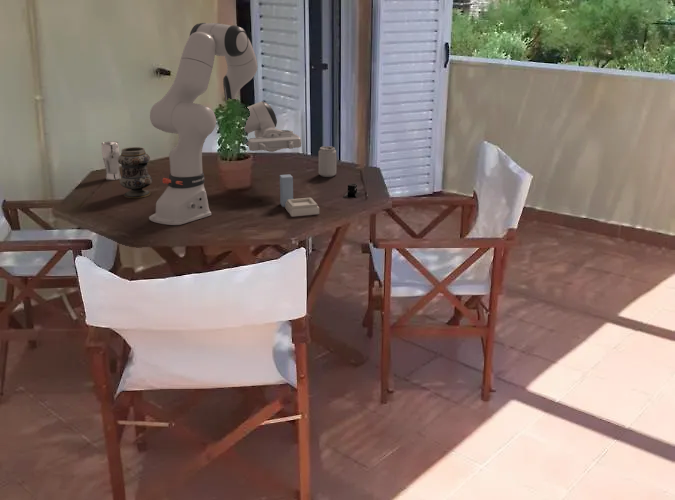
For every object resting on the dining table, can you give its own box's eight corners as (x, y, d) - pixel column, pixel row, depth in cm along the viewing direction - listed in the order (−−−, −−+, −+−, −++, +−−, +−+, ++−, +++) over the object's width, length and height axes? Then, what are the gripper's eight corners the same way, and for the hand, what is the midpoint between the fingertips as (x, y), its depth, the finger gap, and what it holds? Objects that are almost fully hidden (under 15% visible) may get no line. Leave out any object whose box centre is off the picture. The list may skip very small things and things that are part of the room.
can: (339, 175, 313) (339, 147, 309) (325, 178, 309) (324, 150, 305) (329, 172, 319) (329, 144, 315) (315, 174, 315) (314, 146, 311)
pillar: (293, 206, 272) (292, 177, 268) (282, 207, 271) (281, 177, 267) (290, 203, 276) (290, 174, 272) (280, 203, 275) (279, 175, 271)
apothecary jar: (152, 189, 293) (148, 144, 287) (154, 197, 283) (150, 151, 276) (120, 192, 290) (115, 146, 284) (121, 200, 279) (116, 153, 273)
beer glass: (121, 175, 314) (118, 140, 308) (122, 179, 307) (119, 144, 302) (104, 177, 312) (100, 141, 306) (105, 181, 305) (101, 145, 300)
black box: (358, 200, 281) (358, 189, 279) (339, 199, 282) (339, 187, 281) (364, 192, 292) (364, 180, 290) (346, 191, 294) (346, 179, 292)
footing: (319, 214, 263) (319, 204, 262) (291, 216, 260) (291, 207, 259) (312, 206, 272) (312, 197, 271) (285, 208, 269) (285, 199, 268)
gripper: (244, 133, 286) (250, 141, 274) (295, 130, 292) (304, 137, 279) (245, 149, 289) (251, 157, 276) (296, 146, 294) (304, 153, 282)
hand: (278, 147), depth 278 cm, fingers open, 8 cm apart
